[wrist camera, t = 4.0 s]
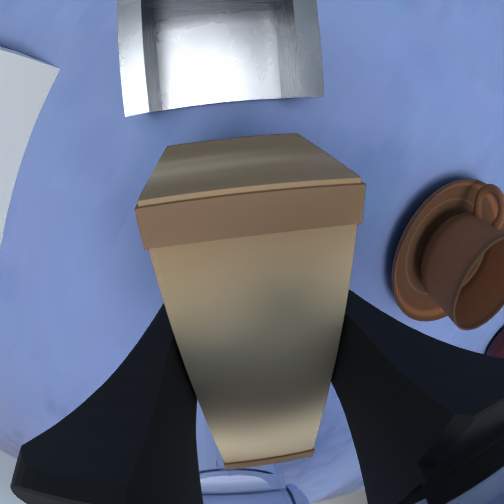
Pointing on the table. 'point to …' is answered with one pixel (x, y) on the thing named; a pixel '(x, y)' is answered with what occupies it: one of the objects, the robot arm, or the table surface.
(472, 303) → the cup and saucer
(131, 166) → the table surface
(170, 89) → the bracket
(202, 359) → the tan rectangular block
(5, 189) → the crown molding
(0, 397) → the table surface
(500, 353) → the mug
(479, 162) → the table surface
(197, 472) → the robot arm
